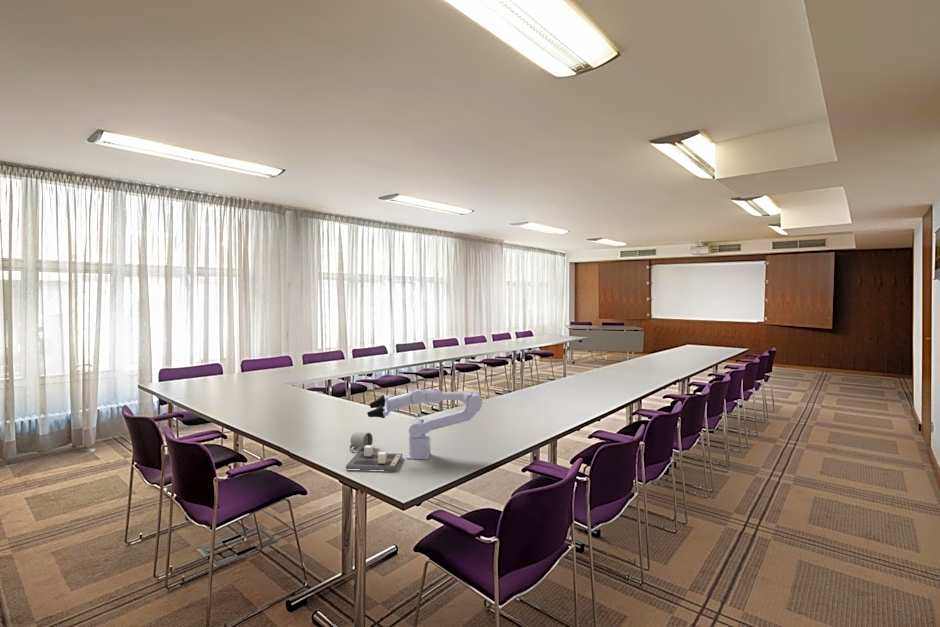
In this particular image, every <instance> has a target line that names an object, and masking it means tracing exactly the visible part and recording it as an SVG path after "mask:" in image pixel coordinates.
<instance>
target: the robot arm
mask: <svg viewBox="0 0 940 627" xmlns="http://www.w3.org/2000/svg"><path fill="white" fill-rule="evenodd" d="M442 401H460V402H461V403H463V404H464V407H463V409H462V410H458V411H453V412H451V413H447V414H443V415H439V416H436V417H431V418H423V419H422V418H415V419H414V420H412V422H411V423H410V426H409V428H408V434H409V435H408V455H407V456H406V459H408V460H409V459H410V460H428V459H429V457H430V456H431V436H428V435H427V436H426V434H428V433H430V432H431V431H434V430H435V431H436V430H438V429H441V428H446V427H449V426H452V425H457V424H460V423H461V424H462V423H464V422H468V421H471V419H473V418H474V417H475V415H477V413H479V412H480V410H481V409H482V405H483V400H482V394H481V393H480V392H478V391H471V390H462V391H460V390H459V391H445V392H443V391H441V390H440V389H437V388H433V389H426V388H422V389H421V388H415V389H414V390H413V391H409V392H405V393H403V394H402V393H401V394H399V395H396V396H395V395H394V396H391V395H390V394H388V395H384V394H382V395H381V396H380V397H378V398H377V399H376V400H374V401H372V402H369V403H368V404H369V406H370V409H372V410H369V411H368V412H367V413H366V414H367V416H368V418H381V419H385V418H386V417H387V416H389V414H390V413H391V412H393V411H396V410H400V409H403V408H406V407H409V406H412V405H421V404H423V403H425V404H434V403H435V404H438V403H440V402H442Z"/></svg>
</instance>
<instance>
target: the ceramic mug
mask: <svg viewBox="0 0 940 627" xmlns="http://www.w3.org/2000/svg"><path fill="white" fill-rule="evenodd" d="M373 440H374V439H373V435H372V433H371V432H366V431H365V432H363V431H357V432H354V433H353V434H352V435H351V437H350V441H349V442H350V445H349V451H350V452H351V451H358V452H359V451H361V450H364V447H365V446H366V445H373ZM352 448H354V449H352Z"/></svg>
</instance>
